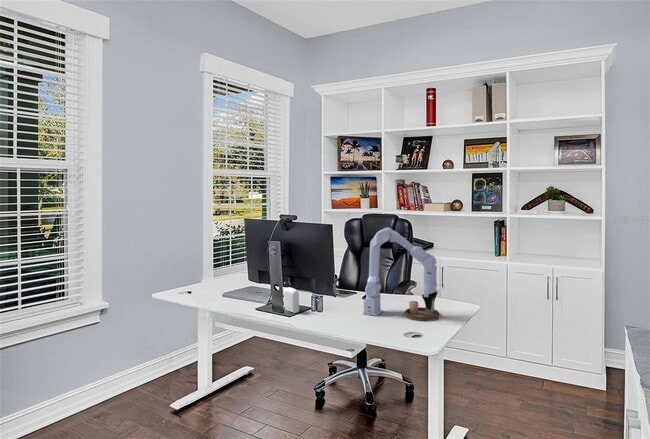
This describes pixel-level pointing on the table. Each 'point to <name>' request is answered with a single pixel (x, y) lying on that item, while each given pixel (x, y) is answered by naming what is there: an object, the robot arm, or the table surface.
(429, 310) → the sage green bead
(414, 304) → the terracotta bead
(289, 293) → the photo printer
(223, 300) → the table surface
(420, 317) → the tray
